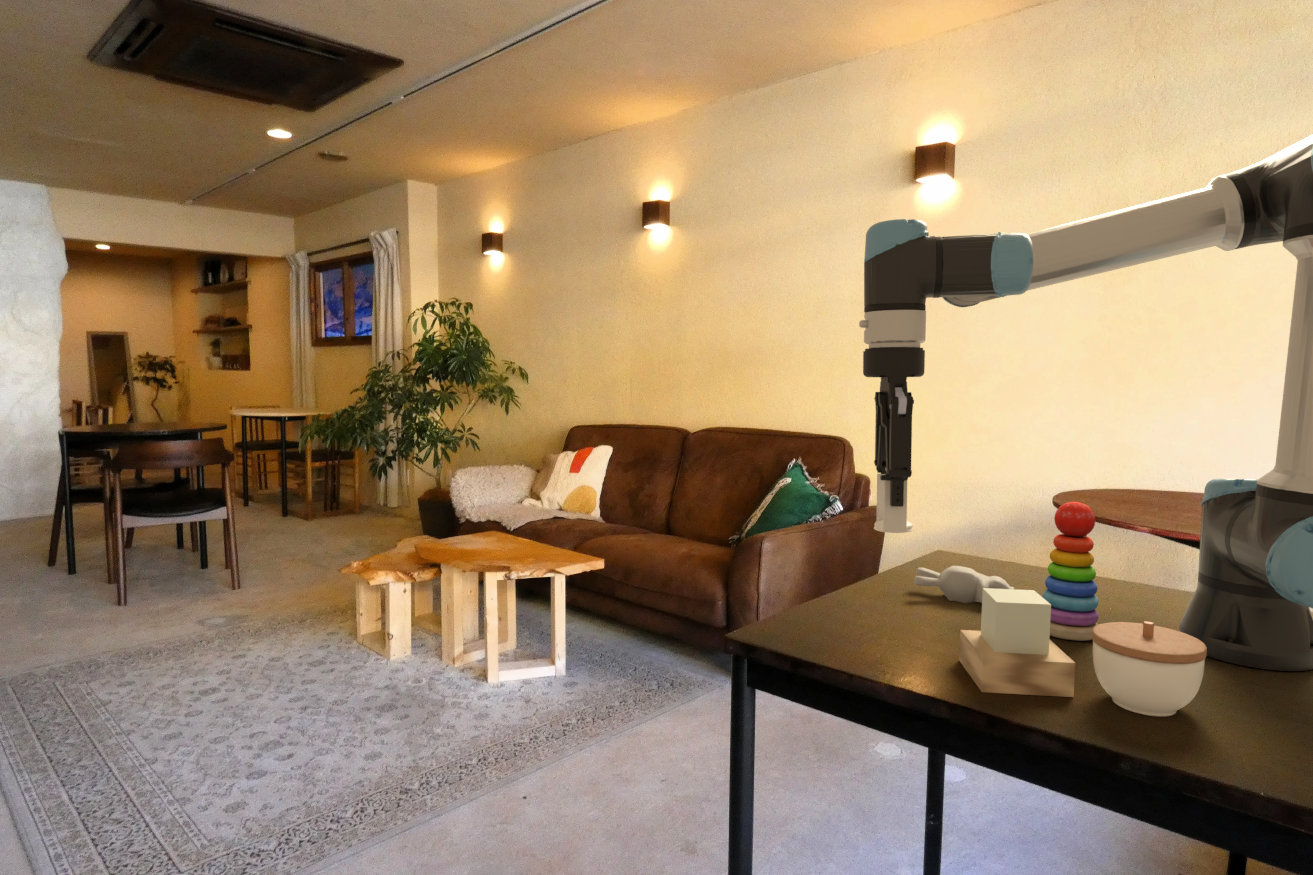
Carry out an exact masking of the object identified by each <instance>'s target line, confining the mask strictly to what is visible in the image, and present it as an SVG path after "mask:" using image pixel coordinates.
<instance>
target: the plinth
mask: <svg viewBox="0 0 1313 875" xmlns="http://www.w3.org/2000/svg"><path fill="white" fill-rule="evenodd" d="M959 632H960V634H959V635H960V637H959V656H958V657H959V658H958V659H959V662H960V664H961V665H962V667H963V668H964V669H965V671H966V672H967V674H968V675H969V676H970V677H971V679H972V681H973V682H974V684H976V686H977V687H978V689H979V690H980V692H981V693H987V694H988V693H991V694H992V693H993V694H1006V695H1007V694H1009V695H1011V694H1012V695H1027V696H1028V695H1030V696H1044V697H1045V696H1047V697H1064V698H1065V697H1067V698H1074V696H1075V695H1074V694H1075V679H1076V677H1075V674H1076V662H1075V661H1074V660H1073V659H1072V658H1071V657H1070V656H1068V655H1067V654H1066V653H1065V652H1064V651H1063V650H1062V649H1060V647H1059V646H1058V645H1056V643H1054V642H1053V641H1052V640H1051V639H1050V638H1049V655H1039V654H1020V653H1001V652H994V651H993V650H992V648H991V647H990V646H989V645H988V644H987V642H986V641H985V640H984V639H983V637H982V636H981V630H972V629H967V630H966V629H960V631H959Z"/></svg>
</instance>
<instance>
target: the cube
mask: <svg viewBox="0 0 1313 875" xmlns="http://www.w3.org/2000/svg"><path fill="white" fill-rule="evenodd" d="M980 618H981V620H980V621H981V622H980V623H981V624H980V631H981V636H982V637H983V639H984V640H985V641H986V642H987V644H988V645H989V646H990V647H991V648H992V650H993V651H994V652H1001V653H1020V654H1039V655H1049V639H1050V637H1051V636H1050V618H1051V604H1050V603H1049V602H1047V601H1046V600H1045V599H1044V598H1043V596H1042V595H1041V594H1039V593H1038V592H1037V591H1035V590H1033V589H1015V588H1014V589H994V588H983V593H982V603H981V616H980Z"/></svg>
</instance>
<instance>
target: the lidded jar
mask: <svg viewBox="0 0 1313 875" xmlns="http://www.w3.org/2000/svg"><path fill="white" fill-rule="evenodd" d="M1206 654H1207V647H1206V646H1205V644H1204V643H1203V642H1202V641H1200V640H1199V639H1197V638H1195V637H1193V636H1190V635H1188V634H1186V633H1183V632H1180V631H1179V630H1175V629H1173V628H1168V627H1164V626H1159V625H1155V622H1152V621H1146V620H1144V621H1143V622H1142V623H1140V622H1132V621H1131V622H1128V621H1127V622H1126V621H1113V622H1103V623H1100V624H1098V625H1097V626H1095V627H1094V628H1093V630H1092V661H1093V662H1092V663H1093V668H1094V672H1095V674H1096V678H1097V680H1098V682H1099V683H1100V686H1101V687H1102V688H1103V690H1105V692H1106V693H1107V694H1108V695H1109V696H1110V697H1111V700H1112V702H1113V703H1114V704H1115V705H1117V706H1118V707H1120V708H1122V709H1124V710H1126V711H1129V712H1131V713H1135V714H1139V715H1143V716H1149V717H1158V718H1160V717H1163V718H1164V717H1170V716H1171V717H1172V716H1175V715H1176V714H1177V711H1178V710H1181V709H1182V708H1184V707H1186V706H1187V705H1189V704H1190V703H1191V702H1192V700H1194V699H1195V697H1196V695H1197V694H1198V692H1199V690H1200V688H1201V685H1202V681H1203V679H1204V678H1203V677H1204V672H1205V662H1206V658H1207V656H1206Z"/></svg>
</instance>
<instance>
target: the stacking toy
mask: <svg viewBox="0 0 1313 875" xmlns="http://www.w3.org/2000/svg"><path fill="white" fill-rule="evenodd" d="M1053 517H1054V518H1053V519H1054V520H1053V521H1054V524H1055V526H1056V528H1057V530H1058V531H1059V532H1060V534H1056V536H1054V538H1053V540H1052V541H1053V542H1052V543H1053V545H1054V547H1055V548H1054V549H1052V550H1050V552H1049V559H1050V560H1051V562H1050V563H1049V564H1048V566H1047V571H1048V572H1047V573H1048V574H1049V575H1048V576H1047V577H1046V578H1045V580H1044V585H1045V587H1046V589H1045V590H1044V591H1043V593H1042V597H1043V598H1044V599H1045V600H1046V601H1047V602H1049V603H1050V604H1051V618H1050V637H1052V638H1053V637H1054V638H1058V639H1061V640H1067V641H1075V642H1076V641H1078V642H1081V641H1083V642H1084V641H1093V639H1092V630H1093V628H1094V627H1095V626H1097V625H1099V624H1098V623H1097V622H1098V620H1099V613H1098V611H1097V610H1096V609H1097V608H1098V606H1099V604H1100V603H1099V598H1098V596H1097V595H1096V593H1097V592H1098V584H1097V583H1096V582H1095V581H1094V579H1095V578H1096V577H1097V576H1096V575H1097V572H1096V569H1095V568H1094V567H1093V566H1092V565H1093V564H1094V562H1095V557H1094V555H1093V554H1092V553H1091V552H1090V551H1092V550H1093V548H1094V546H1095V543H1094V540H1093V539H1092V538H1091V537H1089V536H1087V535H1088V534H1090V533H1091V532H1092V531H1093V530H1094V528H1095V525H1096V516H1095V513H1094V511H1093V510H1092V508H1091V507H1089V506H1088V505H1087V504H1085V503H1083V502H1079V501H1068V502H1065V503H1063V504H1061V505H1060V506H1059V507H1058V508H1057V510H1056V511H1055V512H1054V516H1053Z"/></svg>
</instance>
